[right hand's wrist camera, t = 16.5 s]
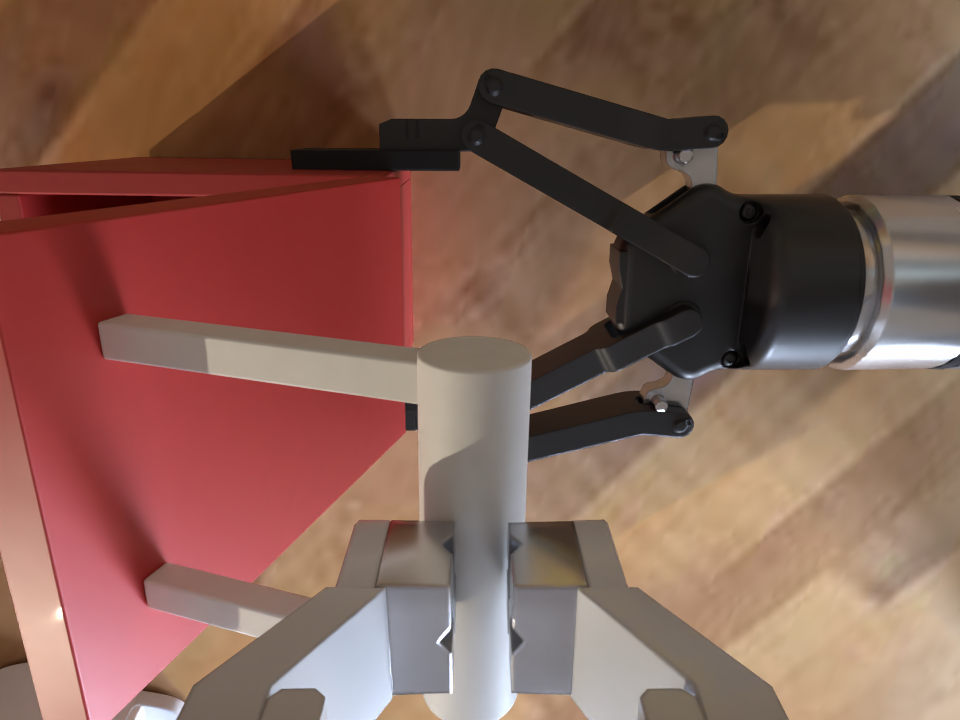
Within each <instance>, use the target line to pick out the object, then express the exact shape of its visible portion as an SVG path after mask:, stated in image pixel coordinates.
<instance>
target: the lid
mask: <svg viewBox="0 0 960 720" xmlns="http://www.w3.org/2000/svg"><path fill="white" fill-rule="evenodd" d="M531 368H532V356H531V353H530V351H529V350H528V349H527V348H526V347H524V346H522V345H520V344H518V343H515V342H512V341H509V340H504V339H499V338H493V337H482V336H463V337H452V338H446V339H441V340H437V341H434V342H431V343H428V344H426V345H425V346H423V347H422V348H421V349H420V348H412V347H404V340H403V296H402V252H401V208H400V178H399V177H379V176H363V177H355V178H347V179H339V180H331V181H323V182H315V183H306V184H298V185H290V186H282V187H274V188H266V189H258V190H250V191H241V192H233V193H225V194H217V195H209V196H201V197H193V198H184V199H176V200H168V201H160V202H152V203H144V204H136V205H127V206H119V207H111V208H103V209H95V210H87V211H79V212H71V213H62V214H54V215H46V216H38V217H30V218H22V219H14V220H5V221H0V554H1V558H2V562H3V566H4V570H5V574H6V578H7V581H8V585H9V589H10V593H11V597H12V601H13V605H14V609H15V613H16V617H17V621H18V625H19V629H20V633H21V636H22V640H23V644H24V648H25V652H26V656H27V660H28V664H29V668H30V672H31V676H32V680H33V684H34V687H35V691H36V695H37V699H38V703H39V707H40V711H41V715H42V719H43V720H112V719H113V718H114V717H115V716H116V715H117V714H118V713H119V712H120V711H121V710H122V709H123V708H124V707H125V706H126V705H127V704H128V703H129V702H130V701H131V700H132V699H133V698H134V697H135V696H136V695H137V694H138V693H139V692H140V691H142V690H143V689H144V688H145V687H146V686H147V685H148V684H149V683H150V682H151V681H152V680H153V679H154V678H155V677H156V676H157V675H158V674H159V673H160V672H161V671H162V670H163V669H164V668H165V667H166V666H167V665H168V664H169V663H170V662H171V661H172V660H173V659H174V658H175V657H176V656H177V655H178V654H179V653H180V652H181V651H182V650H183V649H184V648H186V647H187V646H188V645H189V644H190V643H191V642H192V641H193V640H194V639H195V638H196V637H197V636H198V635H199V634H200V633H201V632H202V631H203V630H204V629H205V628H206V627H207V626H208V625H209V624H210V625H214V626H217V627H221V628H225V629H228V630H232V631H236V632H239V633H243V634H247V635H250V636H254V637H260V636H261V635H262V634H264V633H265V632H266V631H268V630H269V629H270V628H272V627H273V626H274V625H276V624H277V623H278V622H280V621H281V620H283V619H284V618H285V617H287V616H288V615H289V614H291V613H292V612H293V611H295V610H296V609H297V608H299V607H300V606H301V605H303V604H304V603H306V602H307V601H308V600H310V599H311V598H310V597H306V596H302V595H298V594H294V593H290V592H285V591H281V590H277V589H273V588H269V587H265V586H261V585H257V584H253V583H252V582H253V581H254V580H255V579H256V578H257V577H258V576H259V575H260V574H261V573H262V572H263V571H264V570H265V569H266V568H267V567H268V566H269V565H270V564H271V563H272V562H274V561H275V560H276V559H277V558H278V557H279V556H280V555H281V554H282V553H283V552H284V551H285V550H286V549H287V548H288V547H289V546H290V545H291V544H292V543H293V542H294V541H295V540H296V539H297V538H298V537H299V536H300V535H301V534H302V533H303V532H304V531H305V530H306V529H307V528H308V527H309V526H310V525H311V524H312V523H313V522H314V521H315V520H317V519H318V518H319V517H320V516H321V515H322V514H323V513H324V512H325V511H326V510H327V509H328V508H329V507H330V506H331V505H332V504H333V503H334V502H335V501H336V500H337V499H338V498H339V497H340V496H341V495H342V494H343V493H344V492H345V491H346V490H347V489H348V488H349V487H350V486H351V485H352V484H353V483H354V482H355V481H356V480H357V479H358V478H359V477H361V476H362V475H363V474H364V473H365V472H366V471H367V470H368V469H369V468H370V467H371V466H372V465H373V464H374V463H375V462H376V461H377V460H378V459H379V458H380V457H381V456H382V455H383V454H384V453H385V452H386V451H387V450H388V449H389V448H390V447H391V446H392V445H393V444H394V443H395V442H396V441H397V440H398V439H399V438H400V437H401V436H402V435H403V434H405V432H406V428H405V402H406V403H413V404H418V453H419V516H420V521H453V522H455V544H456V554H455V574H456V627H455V634H454V669H453V687H452V693H438V694H423V696H424V699H425V702H426V703H427V705H428V707H429V708H430V709H431V711H432V712H433V713H434V714H435V715H437V716H438V717H439V718H441V719H442V720H498V719H499V718H501V717H502V716H504V715H505V714H506V713H507V712H508V711H509V710H510V708H511V707H512V705H513V704H514V702H515V700H516V697H517V693H511V681H510V666H509V634H508V629H507V569H508V555H507V530H508V523H509V522H525V508H526V485H527V462H528V438H529V415H530V392H531Z"/></svg>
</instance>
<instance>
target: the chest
mask: <svg viewBox="0 0 960 720" xmlns="http://www.w3.org/2000/svg"><path fill="white" fill-rule="evenodd" d="M363 176H379V177H399V178H400V208H401V252H402V296H403V340H404V347H412V343H413V287H412V231H411V174H410V171H367V170H302V169H292V161H291V159H231V158H165V157H134V158H123V159H111V160H99V161H87V162H75V163H63V164H52V165H40V166H28V167H16V168H4V169H0V216H1V220H2V221H5V220H14V219H22V218H30V217H38V216H46V215H54V214H62V213H71V212H79V211H87V210H95V209H103V208H111V207H119V206H127V205H136V204H144V203H152V202H160V201H168V200H176V199H184V198H193V197H201V196H209V195H217V194H225V193H233V192H241V191H250V190H258V189H266V188H274V187H282V186H290V185H298V184H306V183H315V182H323V181H331V180H339V179H347V178H355V177H363Z"/></svg>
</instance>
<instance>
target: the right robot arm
mask: <svg viewBox="0 0 960 720" xmlns="http://www.w3.org/2000/svg"><path fill="white" fill-rule="evenodd" d="M455 554H456V544H455V522H453V521H404V520H392V521H389V520H359V521H358V522H357V523H356V524H355V525H354V529H353V532H352V535H351V538H350V542H349V545H348V548H347V551H346V555H345V558H344V561H343V564H342V568H341V571H340V574H339V577H338V581H337V584H336V587H326V588H324V589H323V590H322V591H320V592H319V593H318V594H316V595H315V596H314V597H312V598H311V599H310V600H308V601H307V602H306V603H304V604H303V605H301V606H300V607H299V608H297V609H296V610H295V611H293V612H292V613H291V614H289V615H288V616H287V617H285V618H284V619H283V620H281V621H280V622H278V623H277V624H276V625H274V626H273V627H272V628H270V629H269V630H268V631H266V632H265V633H264V634H262V635H261V636H260V637H258V638H257V639H255V640H254V641H253V642H251V643H250V644H249V645H247V646H246V647H245V648H243V649H242V650H241V651H239V652H238V653H237V654H235V655H234V656H232V657H231V658H230V659H228V660H227V661H226V662H224V663H223V664H222V665H220V666H219V667H218V668H216V669H215V670H214V671H212V672H211V673H209V674H208V675H207V676H205V677H204V678H203V679H201V680H200V681H199V682H197V683H196V684H195V685H193V687H192V689H191V691H190V693H189V695H188V697H187V699H186V701H185V703H184V702H183V701H181V700H180V699H178V698H175V697H172V696H169V695H164V694H160V693H154V692H148V691H140V692H139V693H138V694H137V695H136V696H135V697H134V698H133V699H132V700H131V701H130V702H129V703H128V704H127V705H126V706H125V707H124V708H123V709H122V710H121V711H120V712H119V713H118V714H117V715H116V716H115V717H114V718H113V719H112V720H376V718H377V717H378V716H379V714H380V713H381V712H382V711H383V709H384V708H385V707H386V706H387V704H388V703H389V702H390V701H391V699H392V695H404V694H438V693H452V687H453V669H454V634H455V627H456V574H455ZM507 555H508V569H507V629H508V634H509V666H510V681H511V693H524V694H559V695H571V698H572V699H573V701H574V702H575V703H576V705H577V706H578V707H579V708H580V710H581V711H582V712H583V713H584V715H585V716H586V717H587V718H588V720H789V719H788V717H787V715H786V713H785V711H784V709H783V707H782V705H781V703H780V701H779V699H778V697H777V695H776V693H775V691H774V689H773V687H772V686H771V685H769V684H768V683H767V682H765V681H764V680H763V679H761V678H760V677H758V676H757V675H756V674H754V673H753V672H752V671H750V670H749V669H748V668H746V667H745V666H744V665H742V664H741V663H739V662H738V661H737V660H735V659H734V658H733V657H731V656H730V655H729V654H727V653H726V652H725V651H723V650H722V649H720V648H719V647H718V646H716V645H715V644H714V643H712V642H711V641H710V640H708V639H707V638H706V637H704V636H703V635H701V634H700V633H699V632H697V631H696V630H695V629H693V628H692V627H691V626H689V625H688V624H687V623H685V622H684V621H683V620H681V619H680V618H678V617H677V616H676V615H674V614H673V613H672V612H670V611H669V610H668V609H666V608H665V607H664V606H662V605H661V604H659V603H658V602H657V601H655V600H654V599H653V598H651V597H650V596H649V595H647V594H646V593H645V592H643V591H642V590H640V589H639V588H638V587H628V585H627V582H626V579H625V576H624V573H623V570H622V567H621V563H620V560H619V557H618V554H617V551H616V548H615V545H614V542H613V538H612V535H611V532H610V529H609V526H608V523H607V522H606V521H605V520H579V521H557V522H509V523H508V530H507ZM0 720H43V719H42V715H41V711H40V707H39V703H38V699H37V695H36V691H35V687H34V684H33V680H32V676H31V672H30V668H29V664H28V662H27V663H21V664H16V665H12V666H8V667H5V668H2V669H0Z"/></svg>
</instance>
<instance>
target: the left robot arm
mask: <svg viewBox="0 0 960 720" xmlns="http://www.w3.org/2000/svg"><path fill="white" fill-rule="evenodd" d="M502 108H503V109H506V110H510V111H513V112H517V113H520V114H524V115H527V116H531V117H534V118H538V119H541V120H545V121H548V122H551V123H555V124H558V125H562V126H565V127H569V128H572V129H576V130H579V131H583V132H586V133H589V134H593V135H596V136H600V137H603V138H607V139H610V140H614V141H617V142H621V143H624V144H628V145H631V146H635V147H639V148H644V149H653V150H660V159H661V162H662V164H663V165H664V166H665V167H667V168H669V169H673V170H677V171H679V172H681V173H682V175H683V176H684V178H685V182H686V185H685V186H683V187H681V188H680V189H679V190H677V191H676V192H674V193H673V194H671V195H670V196H668V197H667V198H666V199H664V200H663V201H661V202H660V203H658V204H657V205H656V206H654V207H653V208H651V209H650V210H648V211H647V212H645V213H644V214H642V213H640V212H639V211H637V210H635V209H633V208H632V207H630V206H628V205H627V204H625V203H623V202H621V201H619V200H618V199H616V198H614V197H612V196H611V195H609V194H607V193H606V192H604V191H602V190H600V189H599V188H597V187H595V186H594V185H592V184H590V183H588V182H587V181H585V180H583V179H582V178H580V177H578V176H576V175H575V174H573V173H571V172H570V171H568V170H566V169H564V168H563V167H561V166H559V165H558V164H556V163H554V162H552V161H551V160H549V159H547V158H546V157H544V156H542V155H541V154H539V153H537V152H535V151H534V150H532V149H530V148H529V147H527V146H525V145H523V144H522V143H520V142H518V141H517V140H515V139H513V138H511V137H510V136H508V135H506V134H505V133H503V132H501V131H499V130H498V129H496V128H495V127H496V124H497V121H498V119H499V116H500V113H501V110H502ZM379 133H380V148H305V149H296V150H291V161H292V169H302V170H367V171H459V170H460V151H471V152H473V153H475V154H477V155H478V156H480V157H482V158H484V159H485V160H487V161H489V162H491V163H492V164H494V165H496V166H498V167H499V168H501V169H503V170H504V171H506V172H508V173H510V174H511V175H513V176H515V177H517V178H518V179H520V180H522V181H524V182H525V183H527V184H529V185H531V186H532V187H534V188H536V189H538V190H539V191H541V192H543V193H545V194H546V195H548V196H550V197H552V198H553V199H555V200H557V201H559V202H560V203H562V204H564V205H566V206H567V207H569V208H571V209H573V210H574V211H576V212H578V213H580V214H581V215H583V216H585V217H587V218H588V219H590V220H592V221H593V222H595V223H597V224H599V225H600V226H602V227H604V228H605V229H607V230H609V231H610V232H612V233H614V234H615V235H617V238H616V240H615V242H614V244H610V258H609V262H610V267H611V272H612V276H613V279H612V282H611V285H610V288H609V291H608V294H607V304H606V312H607V314H608V315H609V317H608V318H606V319H604V320H602V321H600V322H598V323H596V324H595V325H593V326H592V327H590V328H589V330H588V331H587V332H586V333H584V334H583V335H581V336H579V337H577V338H575V339H573V340H571V341H569V342H567V343H565V344H563V345H561V346H559V347H557V348H555V349H553V350H551V351H549V352H547V353H545V354H543V355H541V356H539V357H538V358H536V359H534V360H532V368H531V392H530V410H531V409H533V408H535V407H537V406H539V405H541V404H543V403H545V402H547V401H549V400H551V399H553V398H555V397H557V396H559V395H561V394H563V393H565V392H567V391H569V390H571V389H573V388H575V387H577V386H579V385H581V384H583V383H585V382H587V381H589V380H591V379H593V378H595V377H597V376H599V375H601V374H603V373H606V372H616V371H619V370H621V369H624V368H626V367H628V366H630V365H632V364H634V363H636V362H638V361H640V360H642V359H644V358H646V357H649V358H650V359H651V360H653V361H654V362H655V363H657V364H658V365H659V366H661V367H662V368H664V369H665V370H666V374H665V375H664V376H663V377H662V378H661V379H659V380H657V381H652V382H647V383H645V384H644V385H643V386H642V388H641V390H640V391H626V392H620V393H615V394H611V395H607V396H603V397H599V398H594V399H590V400H586V401H582V402H578V403H574V404H570V405H566V406H562V407H558V408H554V409H550V410H546V411H542V412H537V413H533V414H530V415H529V438H528V462H530V461H534V460H538V459H542V458H546V457H551V456H555V455H559V454H563V453H567V452H571V451H576V450H580V449H584V448H588V447H592V446H596V445H601V444H605V443H609V442H613V441H617V440H621V439H625V438H630V437H634V436H638V435H652V436H665V437H684V436H686V435H688V434H689V433H690V432H691V431H692V429H693V427H694V421H693V419H692V417H691V416H690V415H689V413H688V412H687V409H688V404H689V399H690V395H691V390H692V385H693V380H694V378H698V377H700V376H702V375H704V374H706V373H708V372H710V371H713V370H717V369H723V368H728V369H819V368H821V367H824V366H826V365H827V366H829V367H830V368H834V369H839V370H860V369H920V368H926V369H945V368H948V369H960V196H948V195H845V196H842V197H840V198H838V199H835V198H834V197H832V196H829V195H823V194H732V193H730V192H728V191H726V190H725V189H723V188H722V187H720V186H718V185H716V175H717V147H718V146H720V145H721V144H722V143H723V142H724V141H725V139H726V138H727V134H728V125H727V123H726V122H725V120H724V119H723V118H721V117H720V116H696V117H684V118H673V119H666V118H663V117H659V116H656V115H653V114H649V113H646V112H642V111H639V110H636V109H632V108H629V107H625V106H622V105H619V104H615V103H612V102H608V101H605V100H602V99H598V98H595V97H591V96H588V95H585V94H581V93H578V92H575V91H571V90H568V89H564V88H561V87H558V86H554V85H551V84H547V83H544V82H541V81H537V80H534V79H530V78H527V77H524V76H520V75H517V74H513V73H510V72H507V71H503V70H500V69H489V70H486V71H485V72H484V73H483V74H482V75H481V76H480V79H479V81H478V84H477V87H476V90H475V93H474V96H473V99H472V102H471V105H470V107H469V109H468V110H467V112H466V113H465V114H464V115H462V116H461V117H459V118H456V119H390V120H388V121H386V122H383V123H381V124H379ZM405 428H406V430H418V404H413V403H406V402H405Z"/></svg>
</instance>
